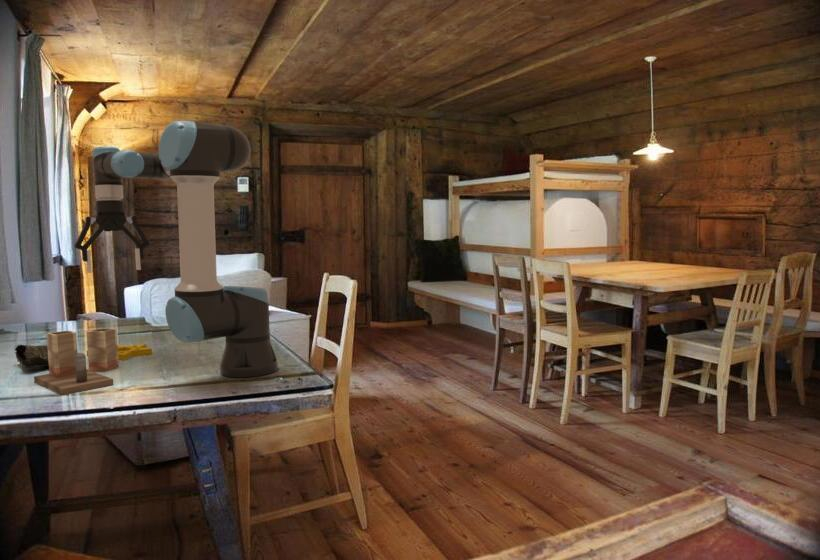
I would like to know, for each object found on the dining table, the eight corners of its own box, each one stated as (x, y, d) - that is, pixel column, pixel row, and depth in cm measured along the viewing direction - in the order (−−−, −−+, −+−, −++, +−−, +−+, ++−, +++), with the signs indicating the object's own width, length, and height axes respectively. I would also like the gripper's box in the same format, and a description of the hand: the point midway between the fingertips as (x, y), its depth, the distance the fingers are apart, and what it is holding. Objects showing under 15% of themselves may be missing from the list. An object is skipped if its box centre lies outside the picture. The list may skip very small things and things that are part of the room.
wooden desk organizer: (113, 384, 160) (110, 335, 159) (62, 395, 152) (58, 343, 150) (83, 373, 174) (79, 328, 173) (34, 382, 165) (30, 334, 164)
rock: (23, 387, 175) (82, 372, 183) (15, 355, 172) (76, 341, 180) (17, 364, 189) (73, 351, 197) (10, 334, 186) (67, 322, 194)
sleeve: (118, 366, 181) (116, 328, 180) (105, 371, 176) (103, 332, 175) (102, 366, 182) (99, 328, 181) (89, 370, 177) (86, 331, 176)
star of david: (155, 358, 194) (155, 350, 194) (92, 366, 185) (91, 358, 185) (143, 348, 211) (143, 341, 211) (85, 355, 202) (84, 348, 202)
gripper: (150, 200, 199) (154, 268, 201) (60, 200, 185) (66, 273, 187) (156, 199, 193) (160, 269, 195) (64, 199, 179) (69, 274, 181)
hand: (114, 271), depth 191 cm, fingers open, 13 cm apart
